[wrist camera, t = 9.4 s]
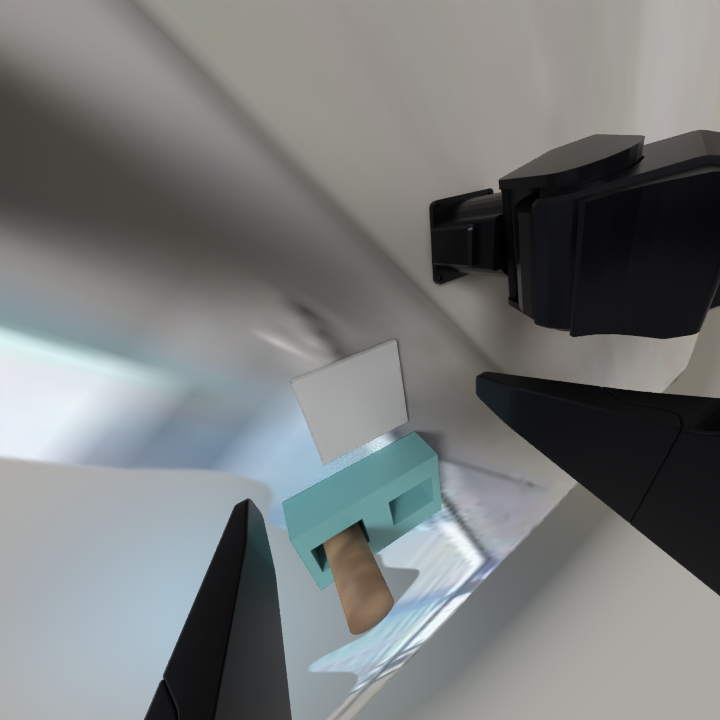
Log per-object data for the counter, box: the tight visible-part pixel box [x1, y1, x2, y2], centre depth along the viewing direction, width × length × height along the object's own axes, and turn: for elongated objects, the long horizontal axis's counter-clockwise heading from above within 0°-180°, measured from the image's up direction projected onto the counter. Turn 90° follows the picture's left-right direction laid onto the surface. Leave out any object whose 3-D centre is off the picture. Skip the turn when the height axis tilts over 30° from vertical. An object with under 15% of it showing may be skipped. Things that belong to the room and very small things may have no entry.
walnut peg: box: [323, 522, 394, 634], centre depth 25 cm, size 4×4×10 cm
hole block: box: [282, 431, 441, 590], centre depth 28 cm, size 16×10×4 cm, turn 103°
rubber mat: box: [290, 339, 408, 465], centre depth 24 cm, size 10×10×1 cm
